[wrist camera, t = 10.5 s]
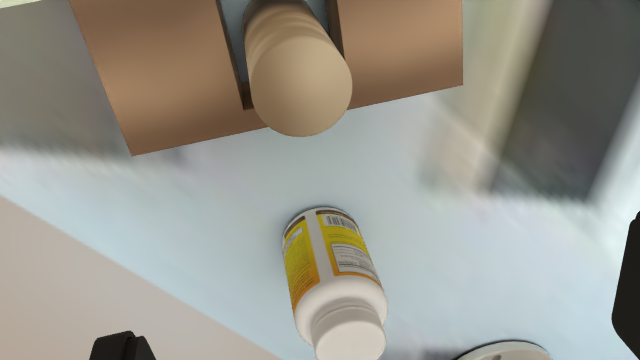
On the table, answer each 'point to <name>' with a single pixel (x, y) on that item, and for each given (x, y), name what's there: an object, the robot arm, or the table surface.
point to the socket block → (221, 71)
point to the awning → (14, 2)
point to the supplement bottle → (334, 286)
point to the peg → (293, 68)
